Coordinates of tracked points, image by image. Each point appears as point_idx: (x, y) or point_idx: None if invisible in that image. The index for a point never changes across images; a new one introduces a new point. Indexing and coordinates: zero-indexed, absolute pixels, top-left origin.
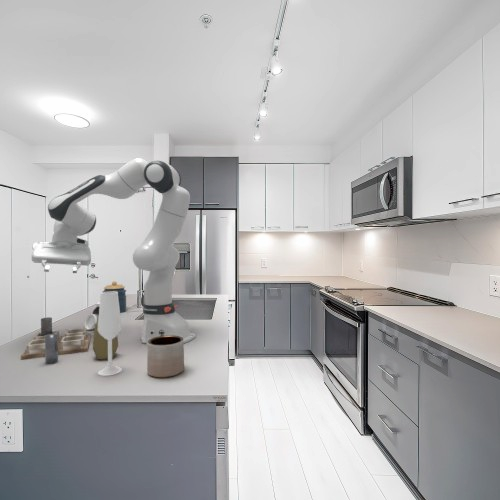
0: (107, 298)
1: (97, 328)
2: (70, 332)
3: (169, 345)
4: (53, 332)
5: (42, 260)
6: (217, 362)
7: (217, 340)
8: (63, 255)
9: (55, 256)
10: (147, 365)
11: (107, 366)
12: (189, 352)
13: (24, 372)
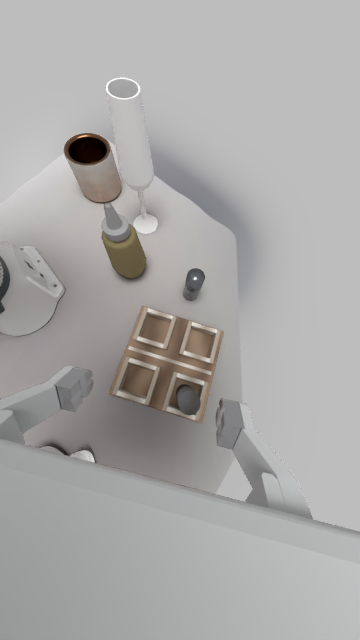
0: (134, 94)
1: (136, 233)
2: (143, 397)
3: (96, 134)
4: (172, 407)
5: (302, 499)
6: (47, 174)
7: None
8: (64, 554)
9: (183, 536)
10: (118, 183)
11: (148, 217)
12: (45, 215)
13: (219, 279)
